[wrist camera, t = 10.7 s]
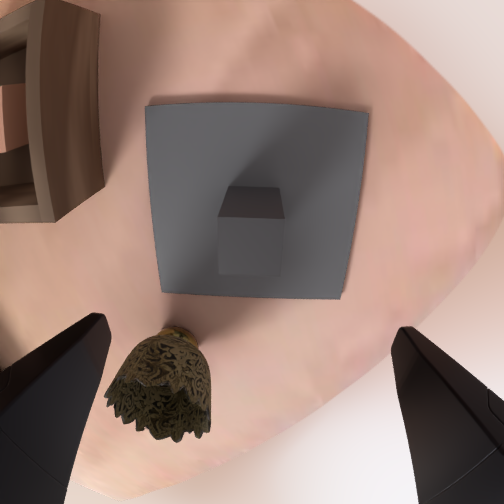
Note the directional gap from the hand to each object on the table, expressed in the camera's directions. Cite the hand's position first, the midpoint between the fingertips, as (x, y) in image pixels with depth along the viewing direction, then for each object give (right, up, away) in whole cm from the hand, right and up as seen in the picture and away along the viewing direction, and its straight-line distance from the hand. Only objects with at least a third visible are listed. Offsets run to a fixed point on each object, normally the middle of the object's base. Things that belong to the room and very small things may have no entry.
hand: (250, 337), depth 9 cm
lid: (0, +5, +11) cm, 12 cm away
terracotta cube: (-16, +12, +6) cm, 21 cm away
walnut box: (-16, +12, +7) cm, 21 cm away
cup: (-6, -5, +16) cm, 18 cm away
